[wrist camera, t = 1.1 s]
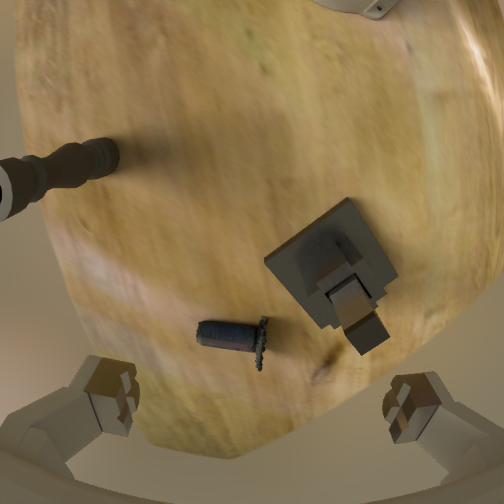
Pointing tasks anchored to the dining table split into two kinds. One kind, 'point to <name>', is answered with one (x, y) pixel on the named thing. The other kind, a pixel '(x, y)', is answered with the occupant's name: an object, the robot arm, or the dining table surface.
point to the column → (357, 315)
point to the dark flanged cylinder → (234, 337)
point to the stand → (331, 262)
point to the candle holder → (53, 172)
